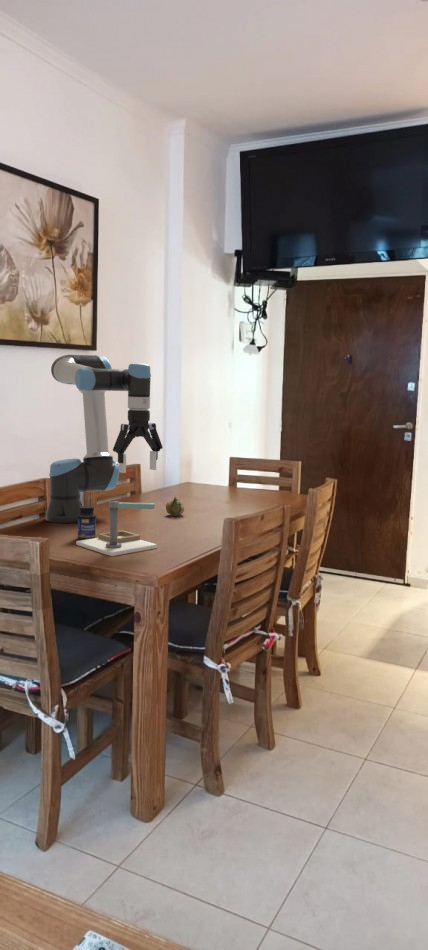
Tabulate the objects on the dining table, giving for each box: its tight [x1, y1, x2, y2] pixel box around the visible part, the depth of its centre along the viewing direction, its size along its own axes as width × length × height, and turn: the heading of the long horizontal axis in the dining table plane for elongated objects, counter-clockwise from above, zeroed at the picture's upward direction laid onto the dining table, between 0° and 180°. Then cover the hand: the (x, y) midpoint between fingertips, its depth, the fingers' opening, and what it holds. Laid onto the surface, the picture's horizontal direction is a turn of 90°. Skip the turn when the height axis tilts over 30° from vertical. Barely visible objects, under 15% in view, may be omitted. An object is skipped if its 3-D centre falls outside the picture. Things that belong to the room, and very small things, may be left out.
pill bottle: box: [77, 505, 97, 540], centre depth 242 cm, size 6×6×11 cm
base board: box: [75, 508, 158, 557], centre depth 231 cm, size 20×18×14 cm
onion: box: [165, 496, 185, 517], centre depth 288 cm, size 8×8×8 cm
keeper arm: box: [107, 500, 156, 510], centre depth 225 cm, size 15×4×2 cm, turn 89°
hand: (138, 471), depth 244 cm, fingers open, 13 cm apart
